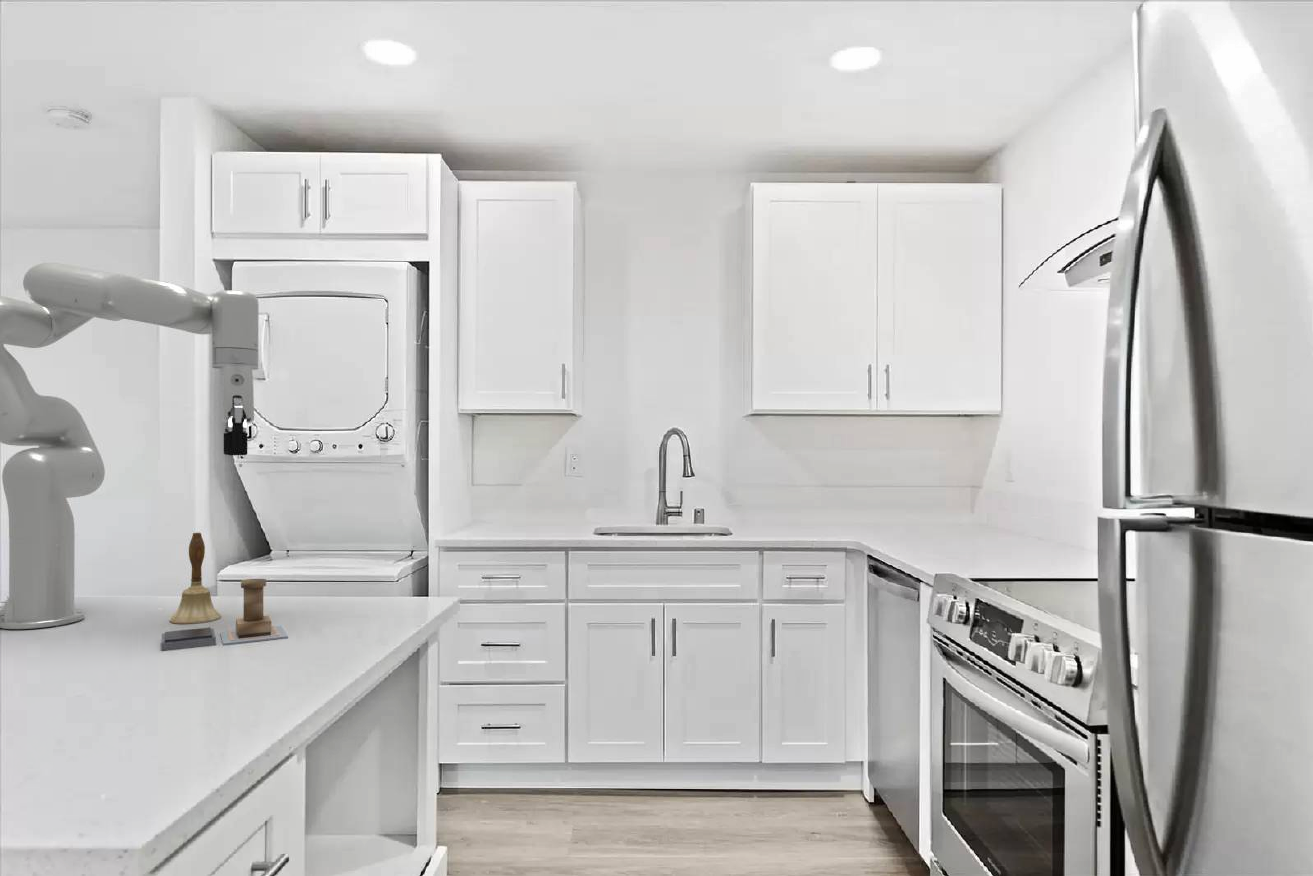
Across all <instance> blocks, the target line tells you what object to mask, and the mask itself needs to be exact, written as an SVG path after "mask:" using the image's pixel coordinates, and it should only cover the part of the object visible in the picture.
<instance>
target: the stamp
mask: <svg viewBox="0 0 1313 876" xmlns="http://www.w3.org/2000/svg"><path fill="white" fill-rule="evenodd" d="M266 586H267V578H248V579H242V580H240V588H241V589H243V617H239V618H238V617H237V618H235V630H236V631H237V636H238V638H239V639H240V638H249V637H258V636H267V635H271V626H272V619H271V617H270V616H269V615H264V588H265V587H266Z"/></svg>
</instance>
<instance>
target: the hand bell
mask: <svg viewBox="0 0 1313 876" xmlns="http://www.w3.org/2000/svg"><path fill="white" fill-rule="evenodd" d="M190 539H191V540H190V541H189V545H188V556H189V557H188V558H189V563H190V565H191V578H190V579H191V580H190V581H191V583H190V586H189V587H188V588H187V589H184V590H182V592H181V600H180V603H179V606H178V609H177V610H176V612H175V613H174V614H173V615H172V616H171V617H170V618H169V622H170V623H172V624H174V625H175V624H176V625H191V624H193V625H194V624H203V623H204V624H205V623H208V622H209V623H210V622H215V621H218V620H220V619H221V618H222V615H221V613H220V612H218V611H217V609H216V608H215V607H214V605H213V604H214V603H213V602H212V598H211V590H210V589H209V588H207V587H205V586H203V584H202V580H203V579H202V578H203V577H202V576H203V575H202V567H203V561H204V558H205V555H206V554H205V551H206V547H205V542H204V539H203V536H202V533H201V532H193V533H192V537H191V538H190Z"/></svg>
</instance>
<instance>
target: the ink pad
mask: <svg viewBox="0 0 1313 876" xmlns="http://www.w3.org/2000/svg"><path fill="white" fill-rule="evenodd" d="M160 642H161V647H160V648H161V649H160V651H173V650H179V649H189V648H197V647H198V648H200V647H209V646H215V645H217V637H216V632H215V628H212V627H202V628H201V627H200V628H191V629H190V628H189V629H181V630H171V631H165V632H164V633H161V641H160Z"/></svg>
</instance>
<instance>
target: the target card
mask: <svg viewBox="0 0 1313 876" xmlns="http://www.w3.org/2000/svg"><path fill="white" fill-rule="evenodd" d="M219 635H220V638H221V643H222V646H228V645H237V644H248V643H255V642H263V641H273V640H274V641H275V640H283V639H288V638H289V637H288V635H287V633H286V632H285V629H284V628H283V626H282V625H271V635H267V636H258V637H249V638H240V639H239V638H238V636H237V631H236V629H232V630H224V631H220V632H219Z"/></svg>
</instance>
